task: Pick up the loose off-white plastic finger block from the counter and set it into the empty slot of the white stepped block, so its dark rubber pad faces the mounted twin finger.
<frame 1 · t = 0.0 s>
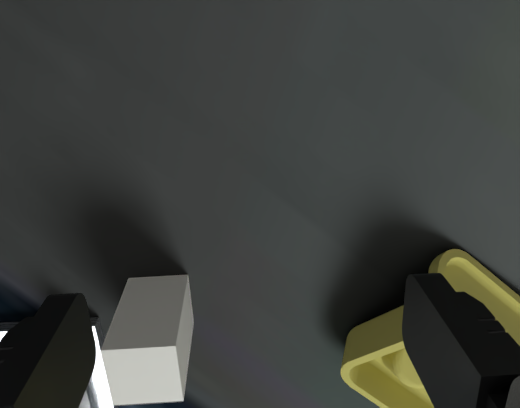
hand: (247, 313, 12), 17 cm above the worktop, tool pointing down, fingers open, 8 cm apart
finger block: (162, 300, 32), on the worktop
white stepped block: (55, 395, 35), on the worktop
plastic component: (459, 356, 36), on the worktop
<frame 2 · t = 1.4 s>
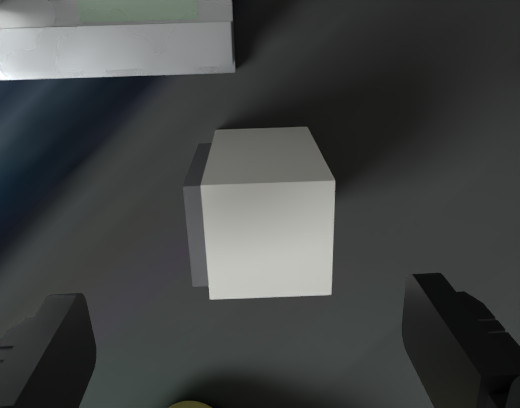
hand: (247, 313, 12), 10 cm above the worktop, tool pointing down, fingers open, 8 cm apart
finger block: (262, 171, 21), on the worktop
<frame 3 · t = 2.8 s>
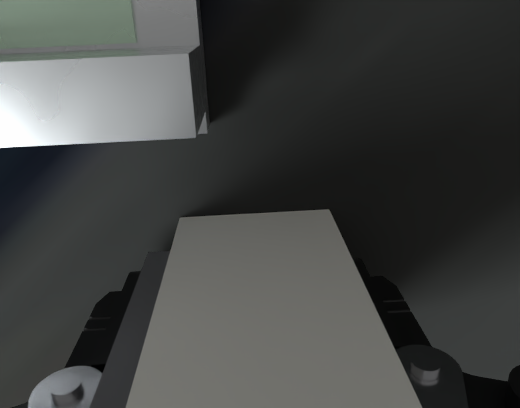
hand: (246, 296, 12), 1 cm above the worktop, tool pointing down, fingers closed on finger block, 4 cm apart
finger block: (257, 277, 13), on the worktop, touching gripper
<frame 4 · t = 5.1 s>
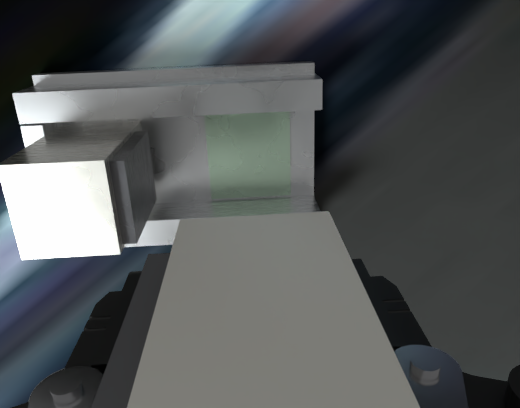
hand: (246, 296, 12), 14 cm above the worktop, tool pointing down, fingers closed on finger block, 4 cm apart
finger block: (257, 279, 13), point 14 cm above the worktop, touching gripper
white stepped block: (185, 151, 26), on the worktop
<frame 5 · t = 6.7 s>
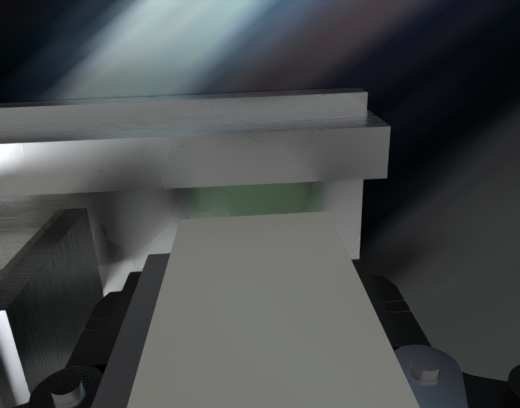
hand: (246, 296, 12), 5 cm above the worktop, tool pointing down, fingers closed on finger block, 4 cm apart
finger block: (257, 279, 13), point 4 cm above the worktop, touching gripper
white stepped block: (157, 225, 16), on the worktop
when the fingers open (4 cm above the worktop, at t = 7.4 s): finger block drops 2 cm, resting on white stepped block.
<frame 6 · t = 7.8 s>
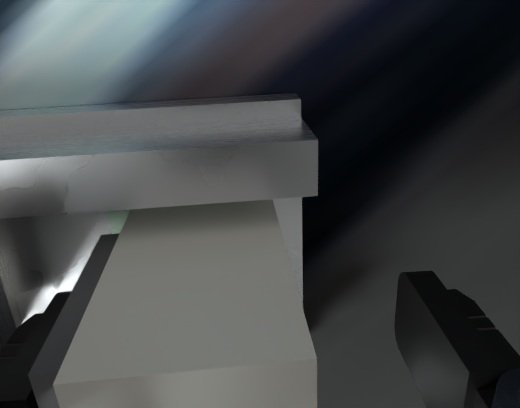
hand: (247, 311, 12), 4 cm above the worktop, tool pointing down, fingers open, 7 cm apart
finger block: (209, 257, 14), point 1 cm above the worktop, touching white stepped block
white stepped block: (82, 246, 15), on the worktop
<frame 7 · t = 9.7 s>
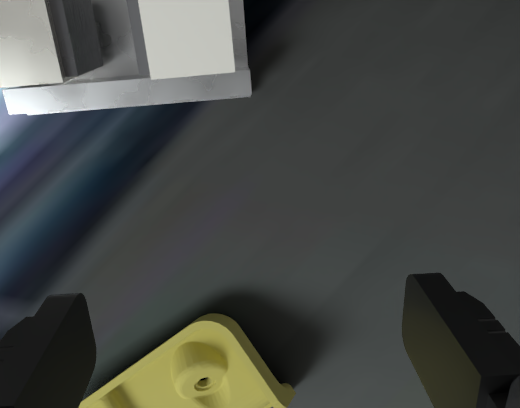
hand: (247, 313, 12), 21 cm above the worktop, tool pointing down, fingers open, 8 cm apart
finger block: (196, 27, 28), point 1 cm above the worktop, touching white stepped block
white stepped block: (130, 29, 28), on the worktop
plastic component: (167, 390, 40), on the worktop
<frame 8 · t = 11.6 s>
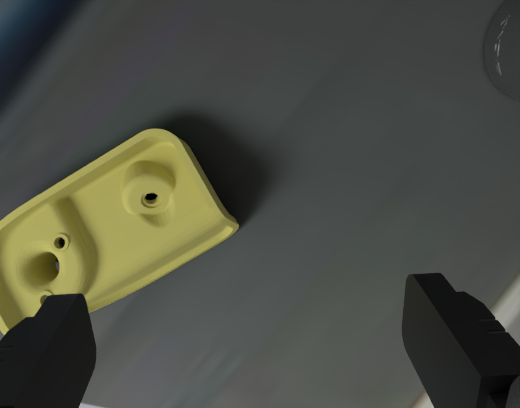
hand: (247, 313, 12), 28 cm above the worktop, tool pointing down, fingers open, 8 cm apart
plastic component: (116, 218, 41), on the worktop
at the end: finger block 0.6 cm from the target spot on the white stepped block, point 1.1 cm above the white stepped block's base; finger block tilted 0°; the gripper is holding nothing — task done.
